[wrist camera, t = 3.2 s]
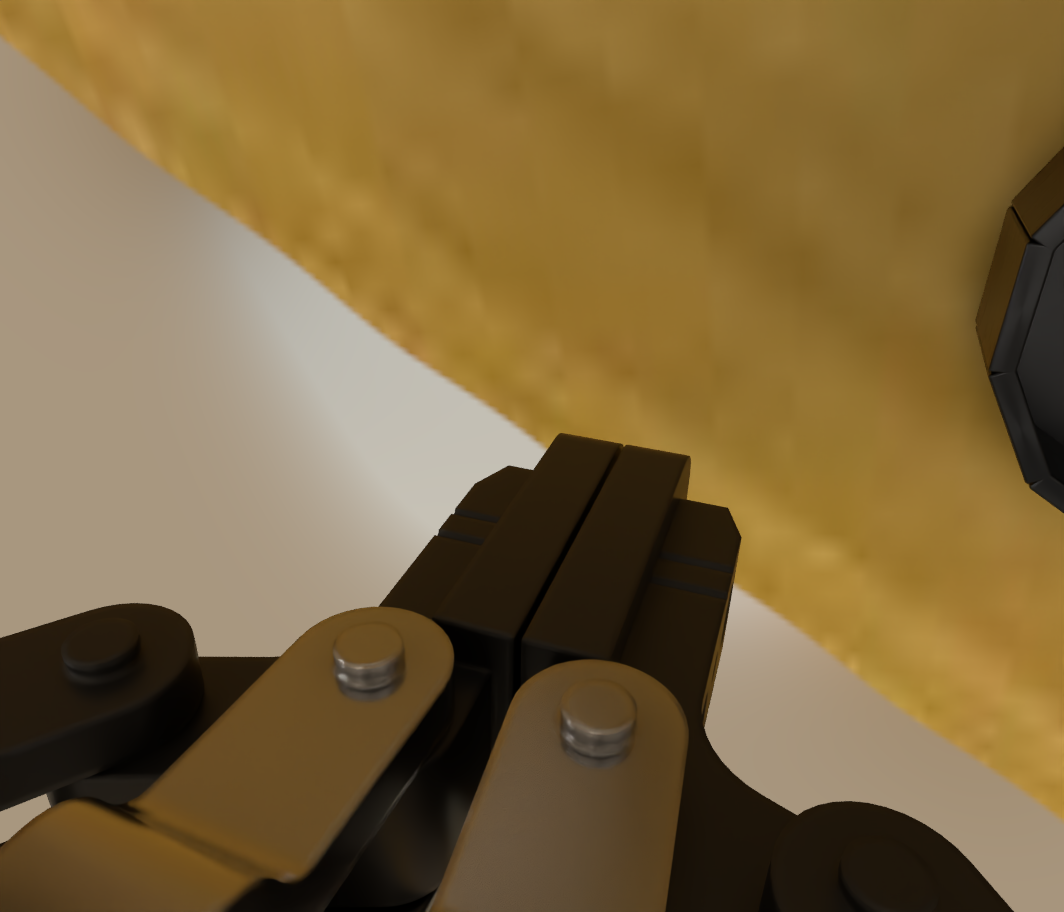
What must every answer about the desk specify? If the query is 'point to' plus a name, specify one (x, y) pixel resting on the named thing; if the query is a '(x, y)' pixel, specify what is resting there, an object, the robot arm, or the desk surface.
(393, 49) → the desk surface
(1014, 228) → the pan
